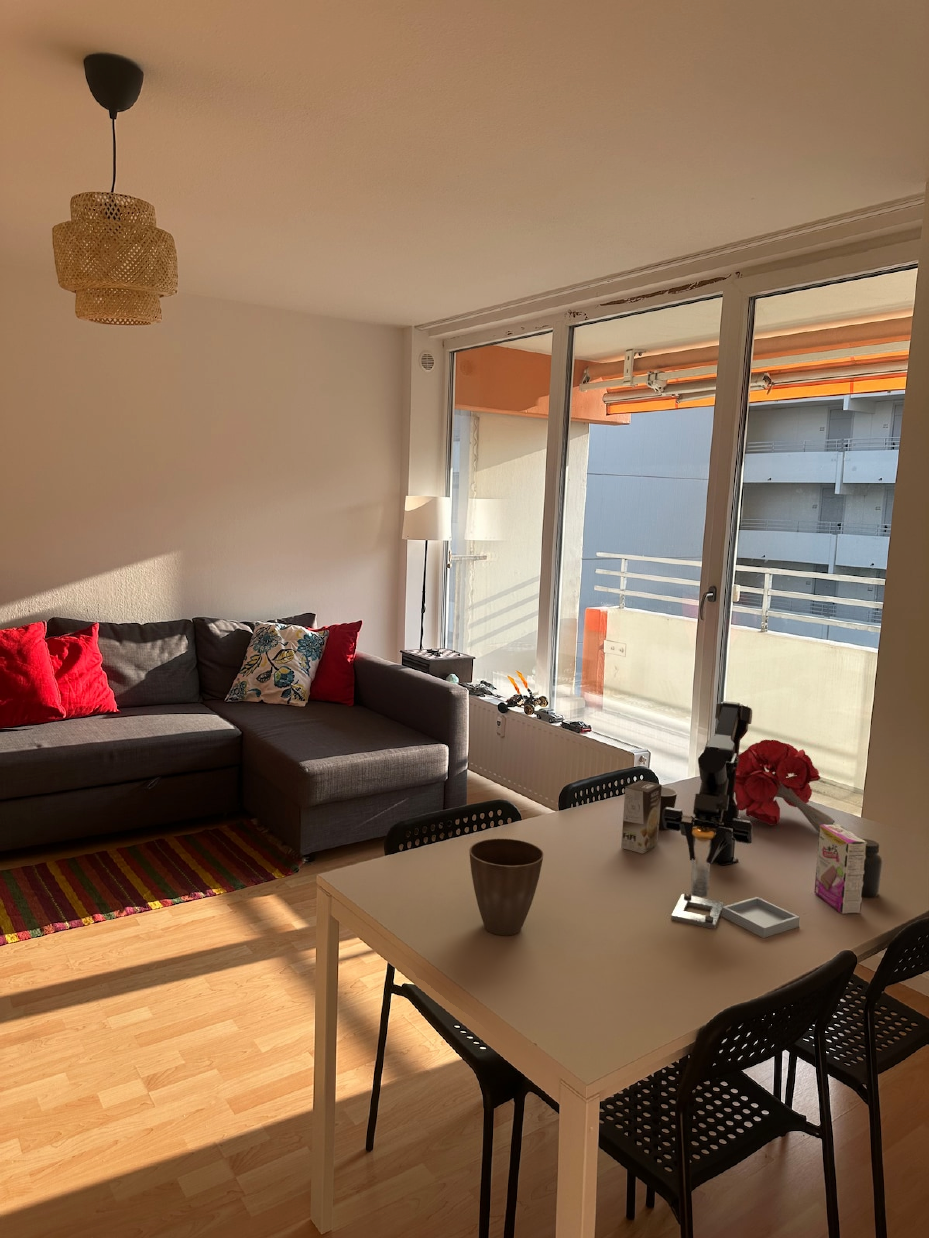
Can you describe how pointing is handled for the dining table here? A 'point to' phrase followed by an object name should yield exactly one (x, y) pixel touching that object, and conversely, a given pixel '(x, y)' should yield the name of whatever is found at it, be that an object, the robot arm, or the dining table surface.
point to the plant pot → (505, 882)
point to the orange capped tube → (701, 860)
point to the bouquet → (776, 782)
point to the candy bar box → (840, 868)
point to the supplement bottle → (872, 870)
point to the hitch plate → (697, 919)
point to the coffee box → (641, 816)
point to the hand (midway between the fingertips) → (700, 861)
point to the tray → (760, 917)
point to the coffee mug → (666, 803)
